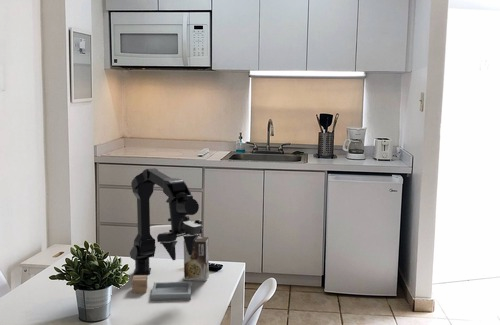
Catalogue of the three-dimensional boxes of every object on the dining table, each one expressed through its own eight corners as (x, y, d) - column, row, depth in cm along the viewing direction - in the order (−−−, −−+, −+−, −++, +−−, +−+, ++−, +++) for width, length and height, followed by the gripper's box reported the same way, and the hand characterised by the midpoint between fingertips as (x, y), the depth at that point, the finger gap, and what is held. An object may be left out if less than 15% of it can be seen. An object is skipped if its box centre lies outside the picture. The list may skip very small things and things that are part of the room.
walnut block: (134, 288, 214) (133, 275, 213) (147, 288, 214) (147, 275, 214) (132, 293, 209) (132, 280, 208) (146, 292, 209) (146, 280, 209)
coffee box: (209, 275, 228) (209, 236, 226) (206, 281, 222) (206, 241, 219) (186, 274, 229) (186, 235, 226) (183, 280, 223) (183, 240, 220)
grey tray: (153, 287, 214) (153, 282, 214) (191, 287, 215) (191, 281, 215) (151, 300, 202) (151, 294, 202) (190, 299, 203) (190, 293, 203)
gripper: (178, 217, 192) (183, 263, 192) (211, 210, 208) (215, 252, 208) (153, 218, 198) (158, 262, 198) (187, 211, 214) (192, 252, 214)
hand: (182, 257), depth 204 cm, fingers open, 9 cm apart
